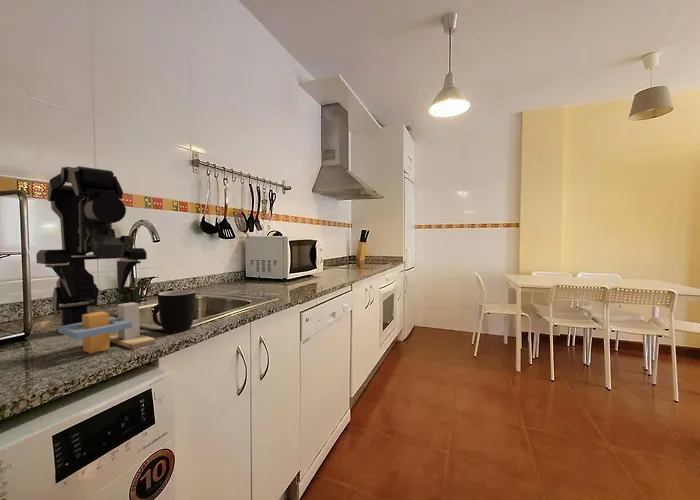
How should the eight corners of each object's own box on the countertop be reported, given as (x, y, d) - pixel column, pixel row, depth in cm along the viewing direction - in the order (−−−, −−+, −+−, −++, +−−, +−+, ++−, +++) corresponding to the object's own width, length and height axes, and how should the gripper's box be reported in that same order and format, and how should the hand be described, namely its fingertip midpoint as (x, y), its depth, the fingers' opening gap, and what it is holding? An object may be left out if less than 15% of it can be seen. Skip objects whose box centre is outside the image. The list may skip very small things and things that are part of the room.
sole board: (103, 339, 77) (103, 335, 77) (126, 334, 82) (126, 330, 82) (132, 349, 70) (132, 344, 70) (155, 342, 74) (155, 338, 74)
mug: (177, 324, 91) (176, 289, 91) (203, 326, 89) (202, 290, 89) (139, 336, 80) (139, 296, 80) (168, 338, 78) (167, 298, 77)
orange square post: (83, 350, 70) (82, 314, 69) (102, 345, 73) (101, 311, 72) (90, 353, 68) (89, 316, 67) (109, 348, 71) (108, 313, 71)
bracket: (58, 347, 68) (57, 311, 68) (126, 332, 80) (125, 301, 79) (77, 356, 63) (76, 316, 63) (147, 338, 75) (146, 305, 74)
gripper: (54, 221, 59) (56, 304, 59) (158, 225, 75) (159, 290, 75) (34, 222, 64) (36, 298, 65) (134, 226, 80) (135, 286, 81)
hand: (97, 293), depth 71 cm, fingers open, 9 cm apart
